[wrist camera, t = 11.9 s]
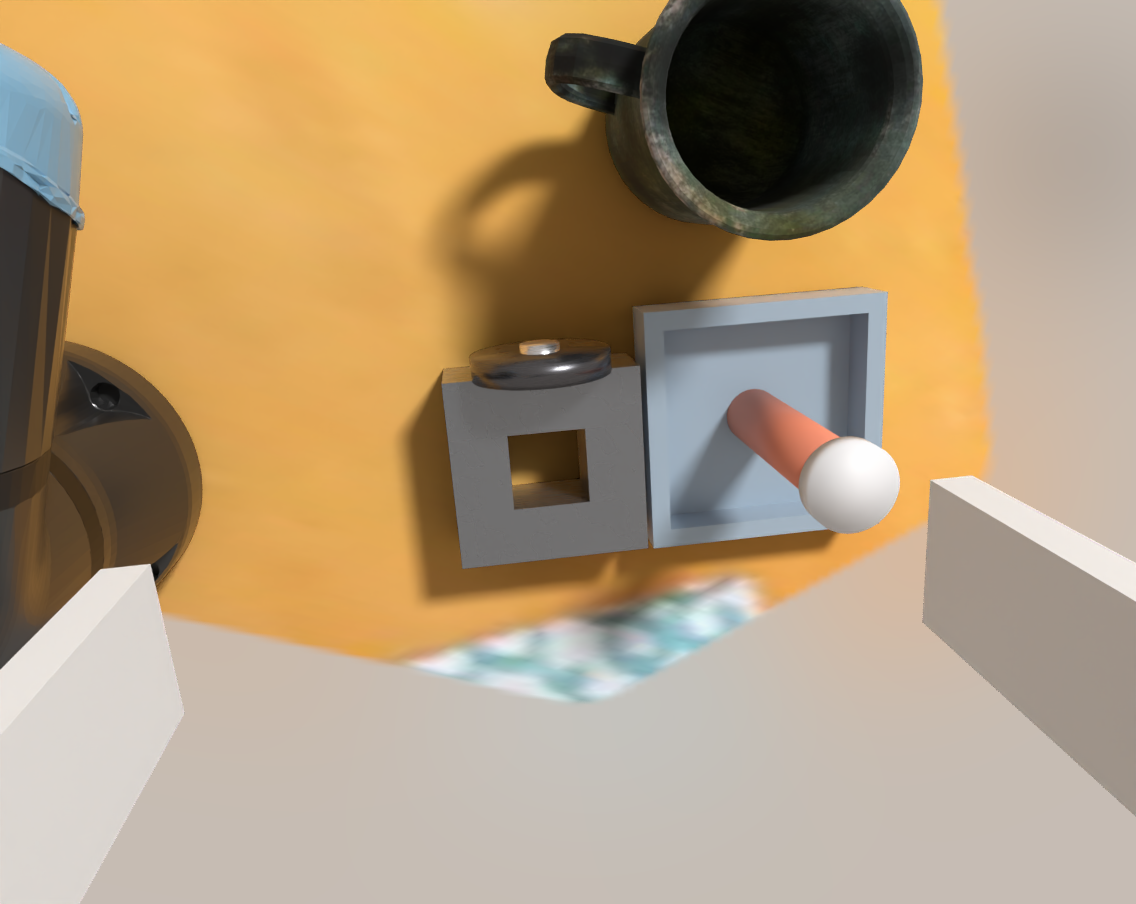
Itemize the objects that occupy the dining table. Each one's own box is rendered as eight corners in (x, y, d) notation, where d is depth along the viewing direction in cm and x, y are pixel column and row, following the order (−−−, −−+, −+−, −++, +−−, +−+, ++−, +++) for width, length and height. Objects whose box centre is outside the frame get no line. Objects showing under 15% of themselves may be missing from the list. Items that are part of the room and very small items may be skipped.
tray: (642, 528, 50) (653, 548, 47) (632, 306, 46) (643, 312, 43) (855, 505, 51) (878, 523, 48) (862, 286, 47) (887, 292, 44)
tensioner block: (462, 540, 49) (462, 598, 42) (440, 339, 45) (435, 364, 38) (634, 521, 50) (662, 575, 42) (624, 323, 46) (653, 345, 39)
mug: (777, 249, 46) (880, 264, 35) (513, 196, 44) (530, 193, 32) (830, 35, 43) (962, -25, 32) (552, -34, 41) (586, -127, 30)
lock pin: (718, 452, 48) (806, 538, 36) (717, 383, 47) (808, 447, 35) (786, 445, 49) (897, 528, 36) (787, 376, 47) (901, 437, 35)
